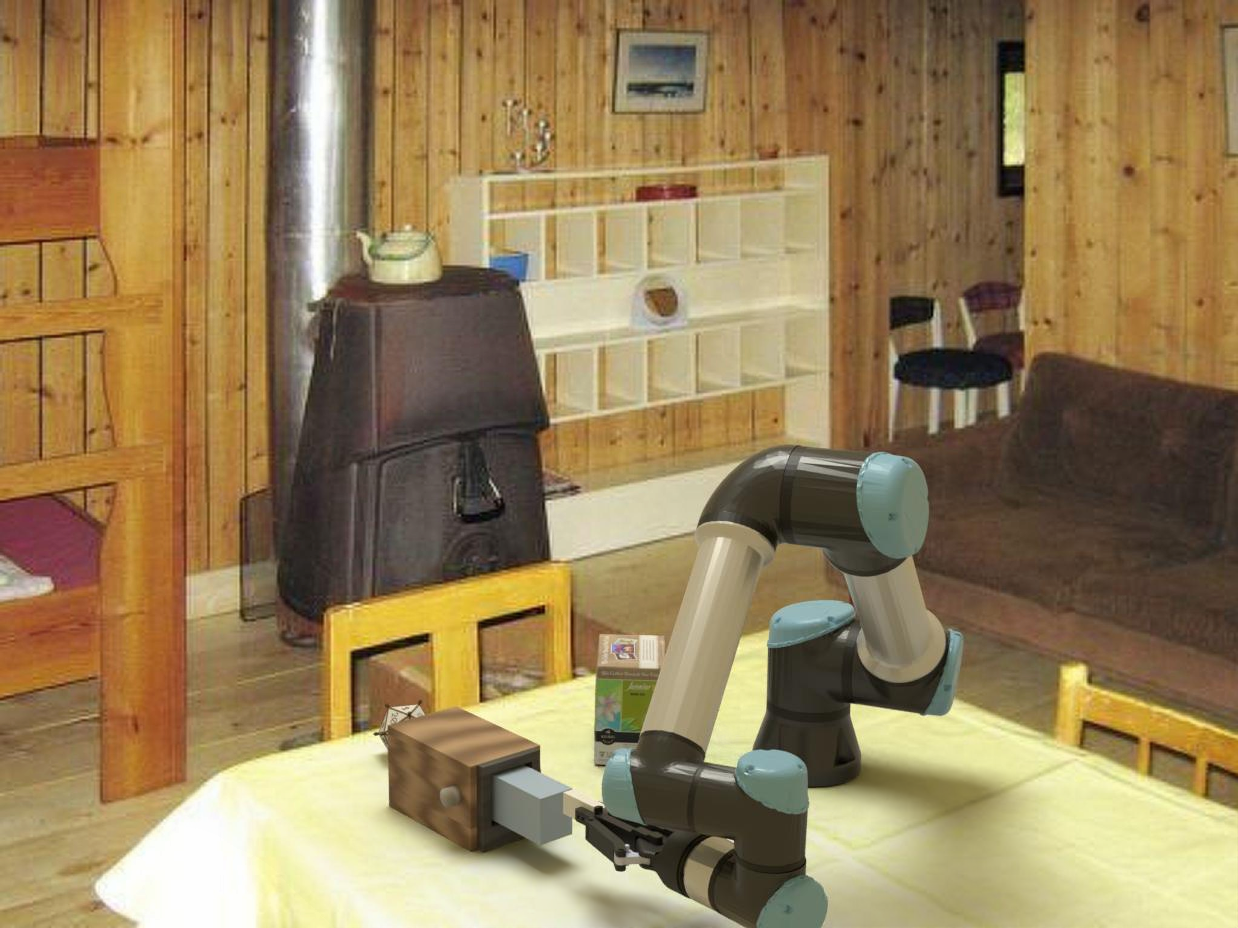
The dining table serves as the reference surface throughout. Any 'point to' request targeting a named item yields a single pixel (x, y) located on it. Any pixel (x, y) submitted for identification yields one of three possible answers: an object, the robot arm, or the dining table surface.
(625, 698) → the tea box
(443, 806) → the wooden peg box
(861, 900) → the dining table surface
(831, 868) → the dining table surface
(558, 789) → the peg
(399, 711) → the game die
